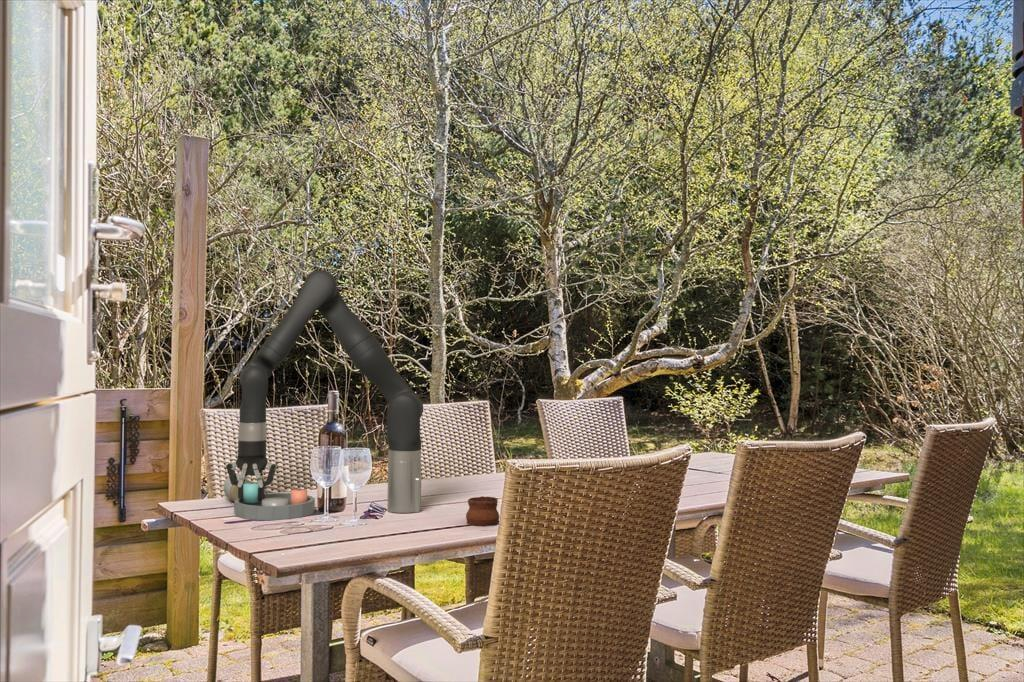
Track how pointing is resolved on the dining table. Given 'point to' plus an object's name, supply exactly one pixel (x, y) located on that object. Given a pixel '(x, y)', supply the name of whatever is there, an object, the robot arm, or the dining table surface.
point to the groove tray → (274, 508)
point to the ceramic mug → (231, 488)
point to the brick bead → (298, 496)
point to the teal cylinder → (250, 492)
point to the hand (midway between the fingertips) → (251, 500)
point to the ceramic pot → (482, 511)
